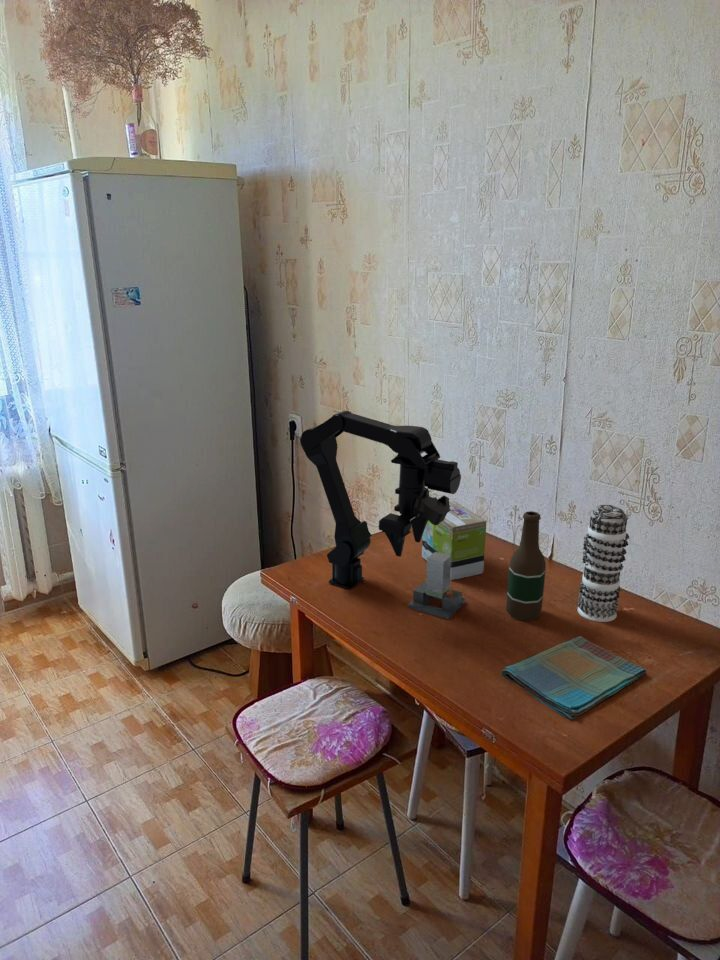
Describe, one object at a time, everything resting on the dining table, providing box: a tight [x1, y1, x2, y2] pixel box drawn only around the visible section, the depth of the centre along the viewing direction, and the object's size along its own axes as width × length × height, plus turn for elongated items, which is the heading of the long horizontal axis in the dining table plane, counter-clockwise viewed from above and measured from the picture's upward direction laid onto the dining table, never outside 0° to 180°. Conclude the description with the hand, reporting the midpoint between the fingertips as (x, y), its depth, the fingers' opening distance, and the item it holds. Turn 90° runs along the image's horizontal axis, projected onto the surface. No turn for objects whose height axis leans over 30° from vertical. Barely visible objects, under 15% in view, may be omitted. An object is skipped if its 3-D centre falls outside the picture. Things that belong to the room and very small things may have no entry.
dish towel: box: [501, 635, 647, 721], centre depth 138 cm, size 17×23×2 cm
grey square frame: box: [407, 581, 467, 620], centre depth 164 cm, size 10×9×4 cm
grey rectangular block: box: [425, 552, 451, 599], centre depth 162 cm, size 4×4×9 cm
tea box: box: [421, 501, 487, 581], centre depth 182 cm, size 15×10×15 cm
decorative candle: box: [577, 504, 630, 623], centre depth 157 cm, size 9×9×25 cm
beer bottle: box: [505, 511, 547, 622], centre depth 157 cm, size 8×8×24 cm
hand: (408, 548), depth 163 cm, fingers open, 9 cm apart
